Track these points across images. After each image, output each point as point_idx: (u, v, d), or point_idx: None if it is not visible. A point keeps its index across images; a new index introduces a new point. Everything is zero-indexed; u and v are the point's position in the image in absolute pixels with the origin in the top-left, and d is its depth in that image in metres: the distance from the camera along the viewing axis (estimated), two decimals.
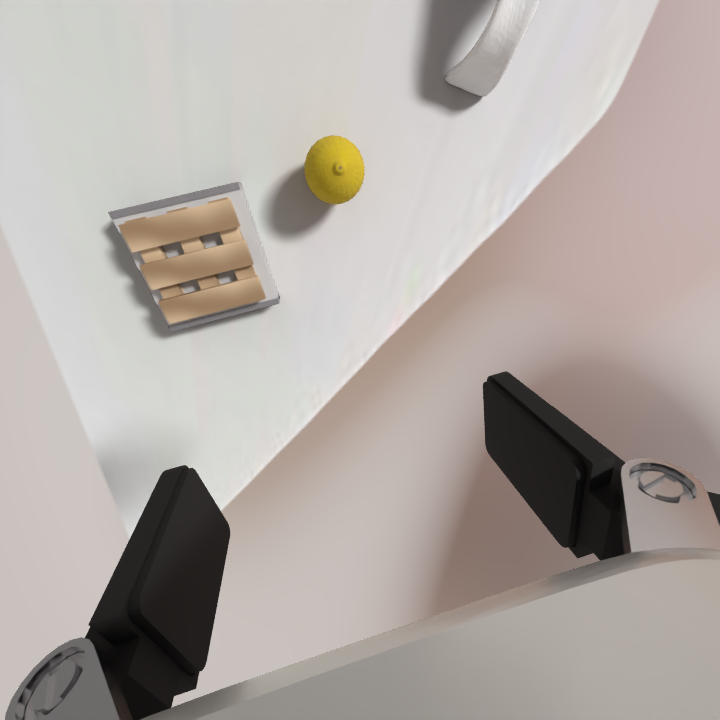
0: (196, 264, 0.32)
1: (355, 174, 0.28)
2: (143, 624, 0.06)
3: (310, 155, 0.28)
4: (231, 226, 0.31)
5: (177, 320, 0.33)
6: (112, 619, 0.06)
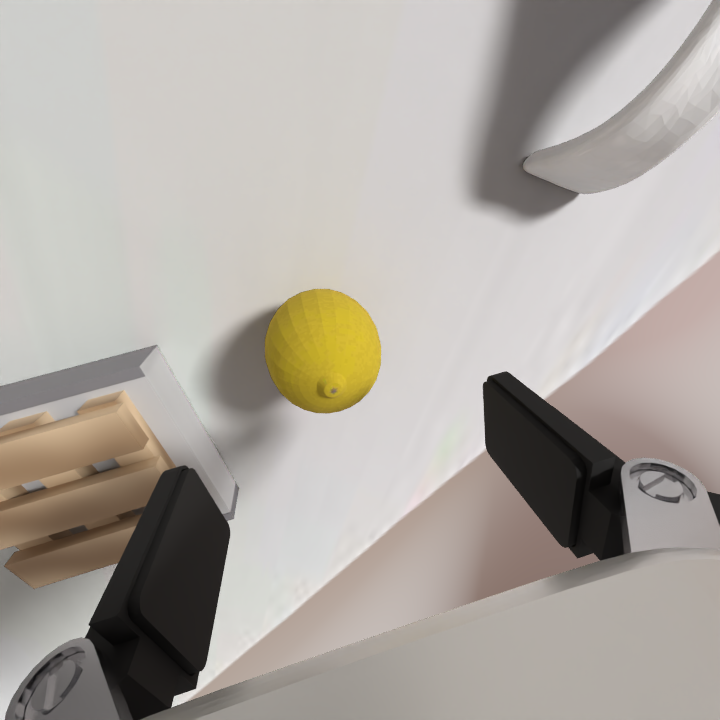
0: (68, 509, 0.17)
1: (365, 384, 0.14)
2: (143, 624, 0.06)
3: (272, 344, 0.14)
4: (127, 451, 0.16)
5: (48, 582, 0.19)
6: (112, 619, 0.06)
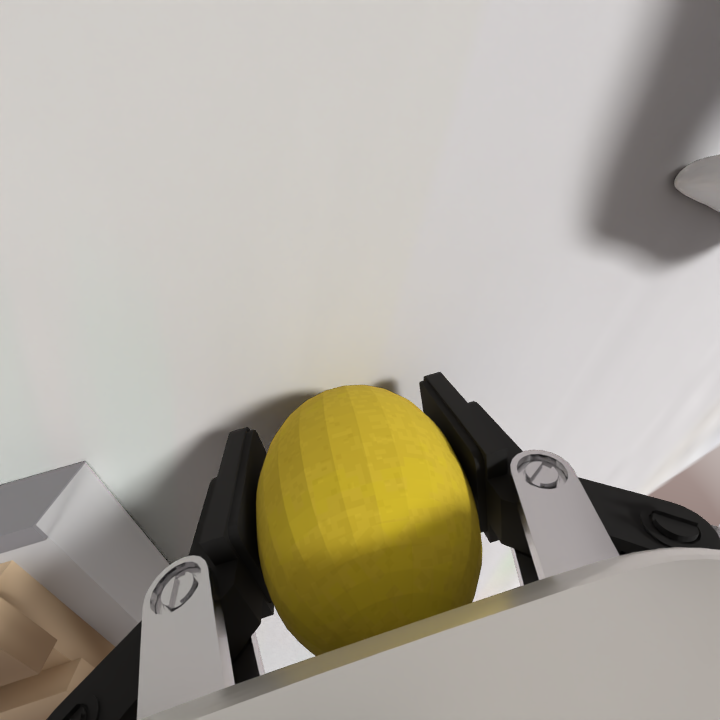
0: None
1: None
2: (239, 548, 0.07)
3: (269, 535, 0.07)
4: (10, 679, 0.09)
5: None
6: (217, 540, 0.07)
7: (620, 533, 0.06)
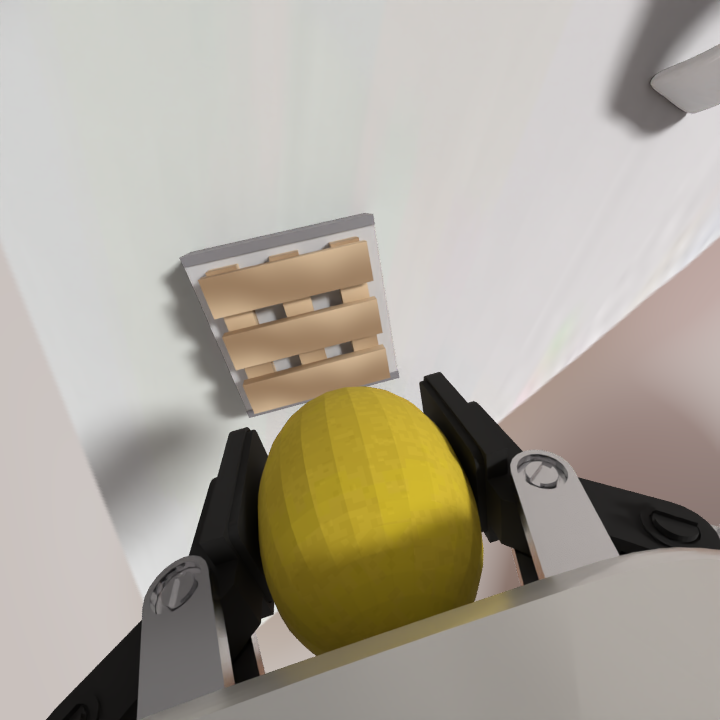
0: (304, 334, 0.21)
1: None
2: (239, 548, 0.07)
3: (271, 537, 0.07)
4: (362, 280, 0.20)
5: (266, 409, 0.23)
6: (217, 540, 0.07)
7: (620, 533, 0.06)
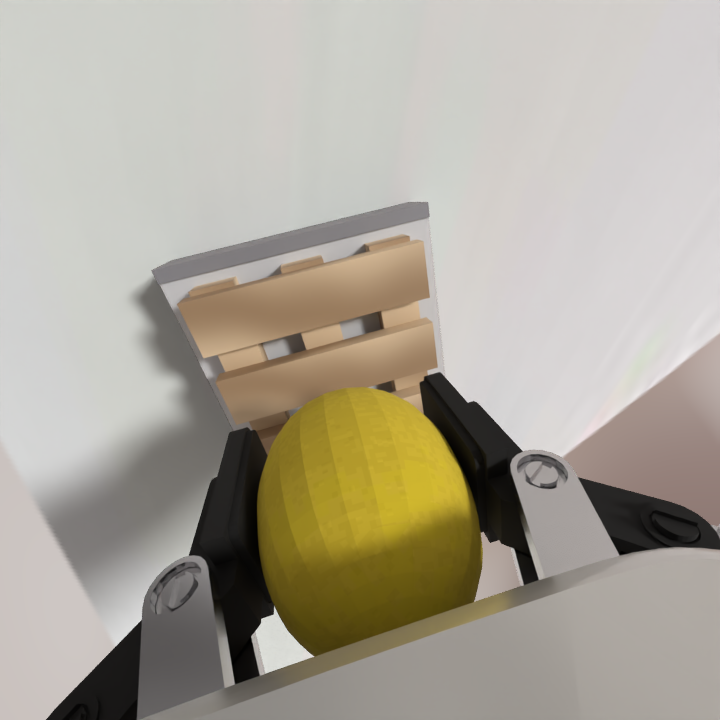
0: (331, 373, 0.15)
1: None
2: (239, 548, 0.07)
3: (270, 538, 0.07)
4: (414, 298, 0.14)
5: None
6: (217, 540, 0.07)
7: (620, 533, 0.06)
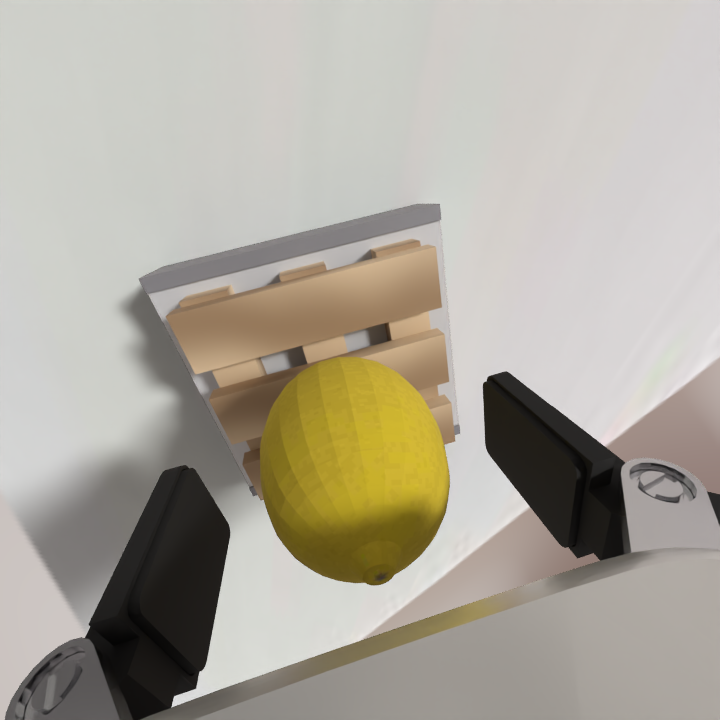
0: None
1: (429, 541, 0.08)
2: (143, 624, 0.06)
3: (270, 468, 0.08)
4: (425, 307, 0.13)
5: None
6: (112, 619, 0.06)
7: None
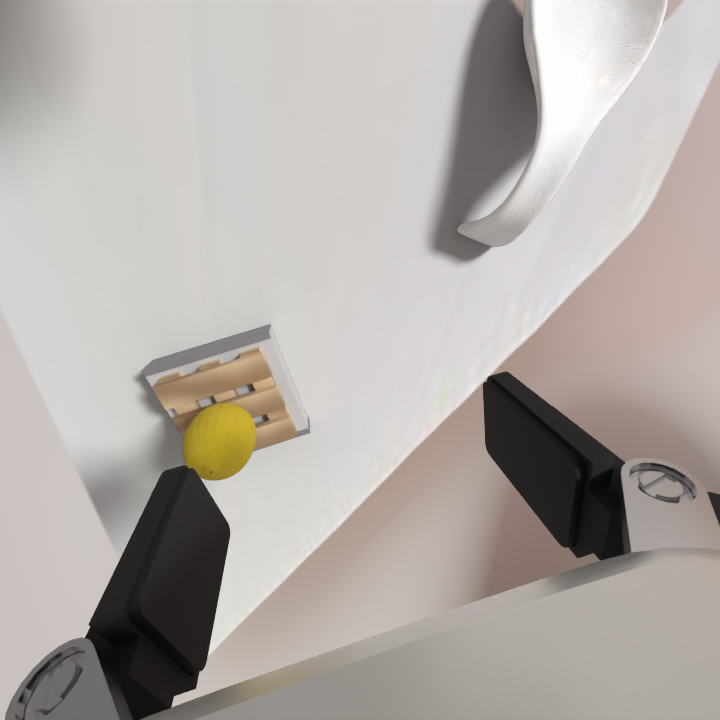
0: None
1: (234, 465, 0.25)
2: (143, 624, 0.06)
3: (184, 444, 0.25)
4: (263, 377, 0.30)
5: None
6: (112, 619, 0.06)
7: None
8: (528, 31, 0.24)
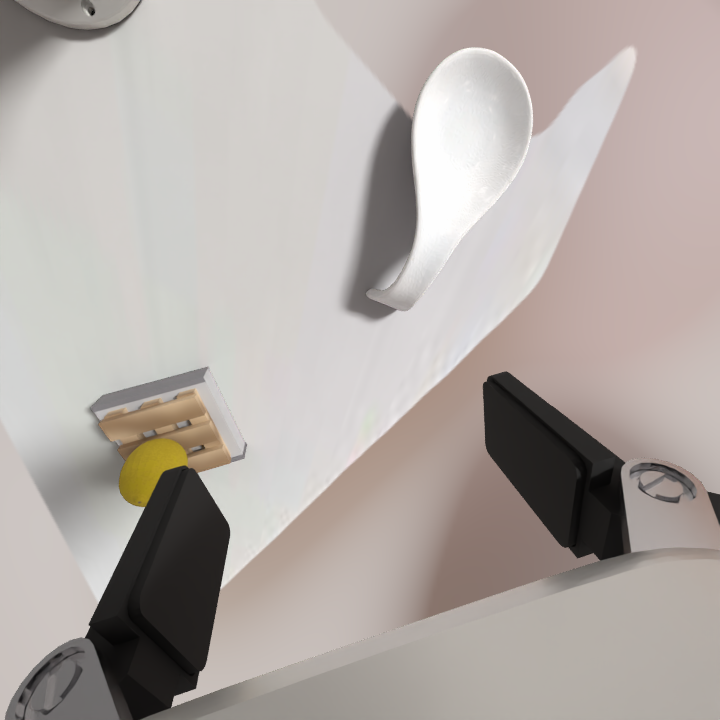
0: None
1: None
2: (143, 624, 0.06)
3: None
4: (197, 415, 0.35)
5: None
6: (112, 619, 0.06)
7: None
8: (411, 153, 0.29)
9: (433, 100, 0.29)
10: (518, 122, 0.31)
